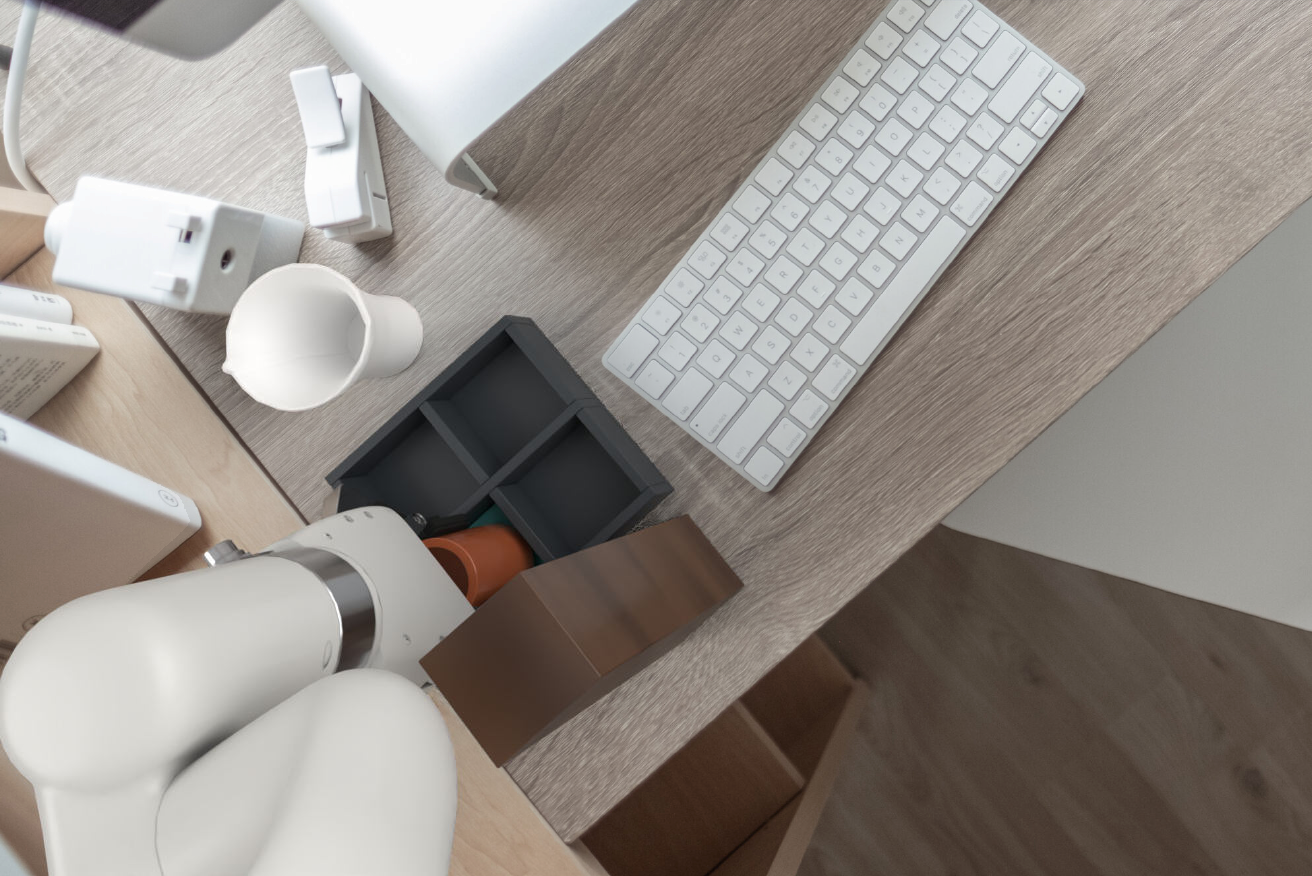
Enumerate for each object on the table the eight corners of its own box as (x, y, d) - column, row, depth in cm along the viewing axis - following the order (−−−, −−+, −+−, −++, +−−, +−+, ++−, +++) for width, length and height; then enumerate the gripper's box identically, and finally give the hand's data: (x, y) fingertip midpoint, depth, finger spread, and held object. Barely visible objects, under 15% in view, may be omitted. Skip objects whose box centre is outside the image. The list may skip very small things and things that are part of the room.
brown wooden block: (674, 648, 75) (497, 769, 52) (617, 575, 76) (416, 661, 52) (745, 585, 76) (601, 677, 52) (687, 513, 76) (520, 571, 53)
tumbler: (522, 615, 75) (462, 641, 67) (445, 595, 75) (378, 619, 68) (544, 533, 75) (487, 550, 68) (468, 514, 76) (403, 528, 68)
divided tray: (675, 489, 77) (656, 494, 73) (498, 652, 76) (470, 665, 72) (530, 317, 79) (505, 314, 75) (357, 473, 78) (323, 478, 75)
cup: (304, 306, 80) (197, 295, 70) (431, 257, 80) (342, 239, 70) (339, 430, 79) (236, 436, 69) (468, 379, 79) (384, 379, 69)
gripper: (122, 546, 56) (349, 506, 74) (334, 834, 54) (515, 720, 72) (244, 440, 56) (440, 425, 74) (459, 720, 54) (609, 635, 72)
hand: (476, 570), depth 73 cm, fingers closed on tumbler, 5 cm apart
